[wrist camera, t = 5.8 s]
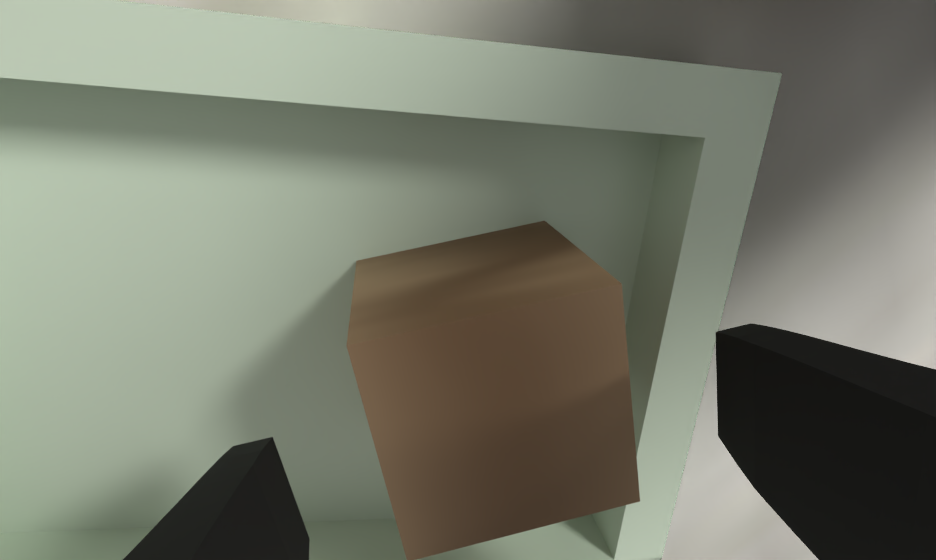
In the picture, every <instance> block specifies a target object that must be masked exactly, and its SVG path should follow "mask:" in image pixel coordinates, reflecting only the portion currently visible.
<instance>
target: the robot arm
mask: <svg viewBox="0 0 936 560" xmlns="http://www.w3.org/2000/svg"><path fill="white" fill-rule="evenodd" d="M716 366H717V406H718V436H719V438H720V439H721V441H722V442H723V444H724V445H725V447H726V448H727V450H728V451H729V453H730V454H731V456H732V457H733V459H734V460H735V462H736V463H737V465H738V466H739V467H740V469H741V470H742V472H743V473H744V474H745V476H746V477H747V478H748V480H749V481H750V483H751V484H752V485H753V487H754V488H755V489H756V490H757V492H758V493H759V494H760V495H761V496H762V497H763V498H764V500H765V501H766V502H767V503H768V504H769V505H770V506H771V507H772V509H773V510H774V511H775V512H776V513H777V514H778V515H779V516H780V517H781V519H782V520H783V521H784V522H785V523H786V524H787V525H788V526H789V527H790V529H791V530H792V531H793V532H794V533H795V534H796V535H797V536H798V537H799V538H800V539H801V541H802V542H803V543H804V544H805V545H806V546H807V547H808V548H809V549H810V550H811V552H812V553H813V554H814V555H815V556H816V557H817V558H818V559H819V560H936V370H935V369H931V368H927V367H923V366H919V365H915V364H911V363H907V362H903V361H900V360H896V359H892V358H888V357H884V356H881V355H877V354H873V353H869V352H866V351H862V350H858V349H855V348H851V347H847V346H843V345H840V344H836V343H832V342H829V341H825V340H821V339H817V338H814V337H810V336H806V335H802V334H798V333H794V332H790V331H786V330H782V329H777V328H773V327H768V326H763V325H757V324H747V325H743V326H739V327H734V328H730V329H726V330H722V331H718V332H716ZM309 543H310V538H309V536H308V533H307V530H306V527H305V525H304V522H303V519H302V516H301V514H300V511H299V508H298V505H297V503H296V500H295V497H294V494H293V492H292V489H291V486H290V483H289V481H288V478H287V475H286V472H285V470H284V467H283V464H282V461H281V459H280V456H279V453H278V450H277V448H276V445H275V442H274V439H273V437H269V438H265V439H261V440H257V441H253V442H248V443H244V444H240V445H236V446H232V447H231V448H230V449H229V450H228V451H227V452H226V453H225V454H224V455H223V456H222V457H221V458H219V459H218V460H217V461H216V463H215V464H214V465H213V466H212V467H211V468H210V469H209V470H208V471H207V472H206V473H205V474H204V475H203V476H202V477H201V478H200V479H199V480H198V481H197V482H196V483H195V484H194V485H193V487H192V488H191V489H190V490H189V491H188V492H187V493H186V494H185V495H184V496H183V497H182V498H181V499H180V500H179V501H178V503H177V504H176V505H175V506H174V507H173V508H172V509H171V510H170V511H169V512H168V513H167V514H166V515H165V516H164V517H163V518H162V519H161V520H160V521H159V522H158V524H157V525H156V526H155V527H154V528H153V529H152V530H151V531H150V532H149V533H148V534H147V535H146V536H145V537H144V538H143V539H142V540H141V541H140V542H139V543H138V545H137V546H136V547H135V548H134V549H133V550H132V551H131V552H130V553H129V554H128V555H127V556H126V557H125V558H124V559H123V560H309Z"/></svg>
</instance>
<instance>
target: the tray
mask: <svg viewBox="0 0 936 560" xmlns="http://www.w3.org/2000/svg"><path fill="white" fill-rule="evenodd" d="M781 77H782V73H776V72H767V71H757V70H748V69H739V68H730V67H721V66H712V65H703V64H694V63H684V62H675V61H666V60H657V59H648V58H639V57H630V56H620V55H611V54H602V53H593V52H584V51H575V50H566V49H557V48H547V47H538V46H529V45H520V44H511V43H502V42H493V41H483V40H474V39H465V38H456V37H447V36H438V35H429V34H419V33H410V32H401V31H392V30H383V29H374V28H365V27H356V26H346V25H337V24H328V23H319V22H310V21H301V20H292V19H282V18H273V17H264V16H255V15H246V14H237V13H228V12H219V11H209V10H200V9H191V8H182V7H173V6H164V5H155V4H145V3H136V2H127V1H118V0H0V560H123V559H124V558H125V557H126V556H127V555H128V554H129V553H130V552H131V551H132V550H133V549H134V548H135V547H136V546H137V545H138V543H139V542H140V541H141V540H142V539H143V538H144V537H145V536H146V535H147V534H148V533H149V532H150V531H151V530H152V529H153V528H154V527H155V526H156V525H157V524H158V522H159V521H160V520H161V519H162V518H163V517H164V516H165V515H166V514H167V513H168V512H169V511H170V510H171V509H172V508H173V507H174V506H175V505H176V504H177V503H178V501H179V500H180V499H181V498H182V497H183V496H184V495H185V494H186V493H187V492H188V491H189V490H190V489H191V488H192V487H193V485H194V484H195V483H196V482H197V481H198V480H199V479H200V478H201V477H202V476H203V475H204V474H205V473H206V472H207V471H208V470H209V469H210V468H211V467H212V466H213V465H214V464H215V463H216V461H217V460H218V459H219V458H221V457H222V456H223V455H224V454H225V453H226V452H227V451H228V450H229V449H230V448H231V447H232V446H236V445H240V444H244V443H248V442H253V441H257V440H261V439H265V438H269V437H273V439H274V442H275V445H276V448H277V450H278V453H279V456H280V459H281V461H282V464H283V467H284V470H285V472H286V475H287V478H288V481H289V483H290V486H291V489H292V492H293V494H294V497H295V500H296V503H297V505H298V508H299V511H300V514H301V516H302V519H303V522H304V525H305V527H306V530H307V533H308V536H309V538H310V543H309V560H407V559H406V555H405V552H404V548H403V545H402V541H401V537H400V534H399V530H398V527H397V523H396V520H395V516H394V513H393V509H392V506H391V502H390V498H389V495H388V491H387V488H386V484H385V481H384V477H383V474H382V470H381V467H380V463H379V459H378V456H377V452H376V449H375V445H374V442H373V438H372V435H371V431H370V428H369V424H368V420H367V417H366V413H365V410H364V406H363V403H362V399H361V396H360V392H359V389H358V385H357V381H356V378H355V374H354V371H353V367H352V364H351V360H350V357H349V353H348V350H347V346H346V345H347V336H348V328H349V319H350V311H351V303H352V294H353V286H354V277H355V269H356V261H358V260H362V259H367V258H372V257H376V256H381V255H386V254H390V253H395V252H400V251H405V250H409V249H414V248H419V247H423V246H428V245H433V244H437V243H442V242H447V241H451V240H456V239H461V238H465V237H470V236H475V235H479V234H484V233H489V232H494V231H498V230H503V229H508V228H512V227H517V226H522V225H526V224H531V223H536V222H540V221H546V222H547V223H548V224H550V225H551V226H552V227H553V228H554V229H556V230H557V231H558V232H559V233H561V234H562V235H563V236H564V237H565V238H567V239H568V240H569V241H570V242H572V243H573V244H574V245H575V246H576V247H578V248H579V249H580V250H581V251H583V252H584V253H585V254H586V255H587V256H589V257H590V258H591V259H592V260H594V261H595V262H596V263H597V264H598V265H600V266H601V267H602V268H603V269H605V270H606V271H607V272H608V273H609V274H611V275H612V276H613V277H614V278H615V279H617V280H618V281H619V282H620V283H622V293H623V305H624V316H625V328H626V340H627V352H628V363H629V375H630V387H631V399H632V410H633V422H634V434H635V446H636V457H637V469H638V481H639V493H640V502H636V503H632V504H628V505H625V506H621V507H617V508H613V509H609V510H605V511H601V512H598V513H594V514H590V515H586V516H582V517H578V518H574V519H571V520H567V521H563V522H559V523H555V524H551V525H548V526H544V527H540V528H536V529H532V530H528V531H524V532H521V533H517V534H513V535H509V536H505V537H501V538H497V539H494V540H490V541H486V542H482V543H478V544H474V545H470V546H467V547H463V548H459V549H455V550H451V551H447V552H444V553H440V554H436V555H432V556H428V557H424V558H420V559H417V560H661V559H662V555H663V551H664V547H665V543H666V539H667V535H668V531H669V527H670V523H671V519H672V515H673V511H674V507H675V503H676V499H677V495H678V491H679V487H680V483H681V479H682V475H683V471H684V467H685V463H686V459H687V455H688V451H689V447H690V443H691V439H692V435H693V431H694V427H695V423H696V418H697V414H698V410H699V406H700V402H701V398H702V394H703V390H704V386H705V382H706V378H707V374H708V370H709V366H710V362H711V358H712V354H713V350H714V346H715V342H716V332H718V330H719V326H720V322H721V318H722V314H723V310H724V306H725V302H726V298H727V294H728V290H729V286H730V282H731V278H732V274H733V270H734V266H735V262H736V258H737V254H738V250H739V246H740V242H741V237H742V233H743V229H744V225H745V221H746V217H747V213H748V209H749V205H750V201H751V197H752V193H753V189H754V185H755V181H756V177H757V173H758V169H759V165H760V161H761V157H762V153H763V149H764V145H765V141H766V137H767V133H768V129H769V125H770V121H771V117H772V113H773V109H774V105H775V101H776V97H777V93H778V89H779V85H780V81H781Z"/></svg>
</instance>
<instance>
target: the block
mask: <svg viewBox="0 0 936 560" xmlns="http://www.w3.org/2000/svg"><path fill="white" fill-rule="evenodd" d="M346 346H347V350H348V353H349V357H350V360H351V364H352V367H353V371H354V374H355V378H356V381H357V385H358V389H359V392H360V396H361V399H362V403H363V406H364V410H365V413H366V417H367V420H368V424H369V428H370V431H371V435H372V438H373V442H374V445H375V449H376V452H377V456H378V459H379V463H380V467H381V470H382V474H383V477H384V481H385V484H386V488H387V491H388V495H389V498H390V502H391V506H392V509H393V513H394V516H395V520H396V523H397V527H398V530H399V534H400V537H401V541H402V545H403V548H404V552H405V555H406V559H407V560H417V559H420V558H424V557H428V556H432V555H436V554H440V553H444V552H447V551H451V550H455V549H459V548H463V547H467V546H470V545H474V544H478V543H482V542H486V541H490V540H494V539H497V538H501V537H505V536H509V535H513V534H517V533H521V532H524V531H528V530H532V529H536V528H540V527H544V526H548V525H551V524H555V523H559V522H563V521H567V520H571V519H574V518H578V517H582V516H586V515H590V514H594V513H598V512H601V511H605V510H609V509H613V508H617V507H621V506H625V505H628V504H632V503H636V502H640V493H639V481H638V469H637V457H636V446H635V434H634V422H633V410H632V399H631V387H630V375H629V363H628V352H627V340H626V328H625V316H624V305H623V293H622V283H620V282H619V281H618V280H617V279H615V278H614V277H613V276H612V275H611V274H609V273H608V272H607V271H606V270H605V269H603V268H602V267H601V266H600V265H598V264H597V263H596V262H595V261H594V260H592V259H591V258H590V257H589V256H587V255H586V254H585V253H584V252H583V251H581V250H580V249H579V248H578V247H576V246H575V245H574V244H573V243H572V242H570V241H569V240H568V239H567V238H565V237H564V236H563V235H562V234H561V233H559V232H558V231H557V230H556V229H554V228H553V227H552V226H551V225H550V224H548V223H547V222H546V221H540V222H536V223H531V224H526V225H522V226H517V227H512V228H508V229H503V230H498V231H494V232H489V233H484V234H479V235H475V236H470V237H465V238H461V239H456V240H451V241H447V242H442V243H437V244H433V245H428V246H423V247H419V248H414V249H409V250H405V251H400V252H395V253H390V254H386V255H381V256H376V257H372V258H367V259H362V260H358V261H356V269H355V277H354V286H353V294H352V303H351V311H350V319H349V328H348V336H347V345H346Z"/></svg>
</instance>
